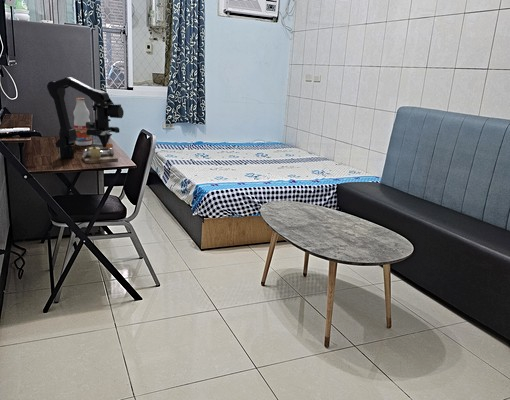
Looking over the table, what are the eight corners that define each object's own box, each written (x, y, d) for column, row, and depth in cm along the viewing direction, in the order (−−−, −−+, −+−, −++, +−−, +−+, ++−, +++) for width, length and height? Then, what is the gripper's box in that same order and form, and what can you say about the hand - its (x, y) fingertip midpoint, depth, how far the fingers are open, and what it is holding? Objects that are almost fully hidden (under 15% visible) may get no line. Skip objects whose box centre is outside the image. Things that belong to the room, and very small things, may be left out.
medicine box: (105, 147, 266) (104, 133, 263) (109, 148, 263) (108, 133, 260) (93, 148, 260) (92, 134, 257) (97, 150, 257) (96, 135, 254)
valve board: (86, 163, 223) (85, 150, 221) (81, 158, 234) (80, 145, 232) (118, 161, 231) (117, 148, 229) (112, 156, 242) (111, 143, 240)
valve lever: (90, 146, 230) (90, 143, 230) (93, 145, 232) (93, 142, 232) (110, 148, 228) (109, 144, 227) (112, 147, 230) (112, 144, 230)
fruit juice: (94, 143, 276) (91, 97, 268) (88, 146, 267) (84, 99, 259) (80, 142, 277) (76, 97, 268) (73, 145, 268) (68, 98, 259)
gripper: (102, 115, 235) (103, 144, 239) (76, 117, 218) (78, 148, 222) (119, 116, 231) (120, 146, 235) (94, 118, 214) (96, 150, 218)
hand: (104, 147), depth 227 cm, fingers closed
